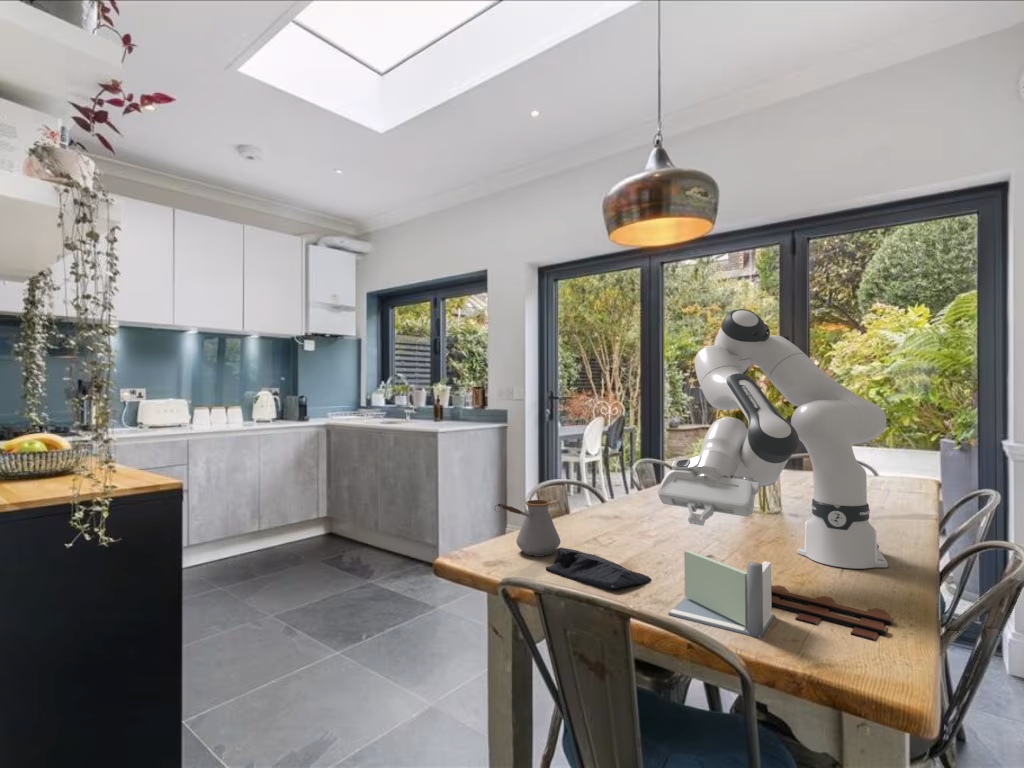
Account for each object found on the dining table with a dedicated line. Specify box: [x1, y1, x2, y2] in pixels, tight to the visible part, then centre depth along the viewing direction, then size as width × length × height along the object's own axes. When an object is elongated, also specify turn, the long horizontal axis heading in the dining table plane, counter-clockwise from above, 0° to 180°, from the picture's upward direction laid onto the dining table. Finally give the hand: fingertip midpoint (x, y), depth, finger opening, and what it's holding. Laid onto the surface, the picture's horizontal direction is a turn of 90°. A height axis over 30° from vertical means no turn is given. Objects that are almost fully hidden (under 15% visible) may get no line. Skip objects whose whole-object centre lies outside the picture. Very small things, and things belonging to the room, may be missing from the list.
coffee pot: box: [494, 499, 561, 557], centre depth 137 cm, size 21×12×15 cm, turn 139°
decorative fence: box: [771, 584, 895, 642], centre depth 103 cm, size 23×2×15 cm
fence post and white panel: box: [746, 560, 773, 638], centre depth 96 cm, size 11×2×12 cm, turn 143°
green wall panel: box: [683, 549, 748, 626], centre depth 101 cm, size 15×1×9 cm, turn 25°
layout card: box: [668, 596, 775, 639], centre depth 101 cm, size 11×16×1 cm
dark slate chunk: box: [545, 547, 652, 590], centre depth 124 cm, size 15×22×5 cm
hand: (695, 523), depth 115 cm, fingers closed
